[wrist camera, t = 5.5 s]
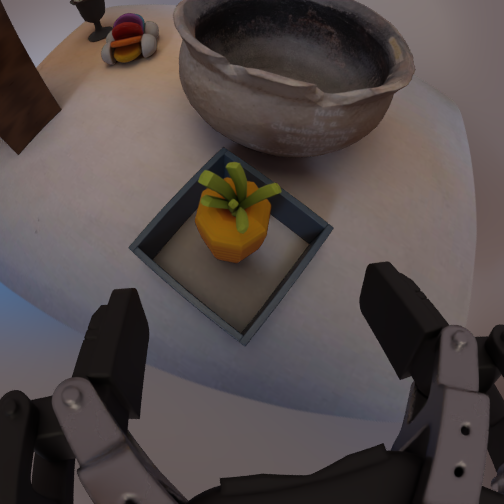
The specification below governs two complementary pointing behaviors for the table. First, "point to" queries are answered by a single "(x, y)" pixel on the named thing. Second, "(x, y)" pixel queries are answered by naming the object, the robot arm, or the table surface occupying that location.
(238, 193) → the carrot
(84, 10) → the sundae
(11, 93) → the block
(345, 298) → the table surface
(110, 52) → the rainbow cloud toy
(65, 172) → the table surface
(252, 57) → the ceramic bowl
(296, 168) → the table surface
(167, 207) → the square storage tray
